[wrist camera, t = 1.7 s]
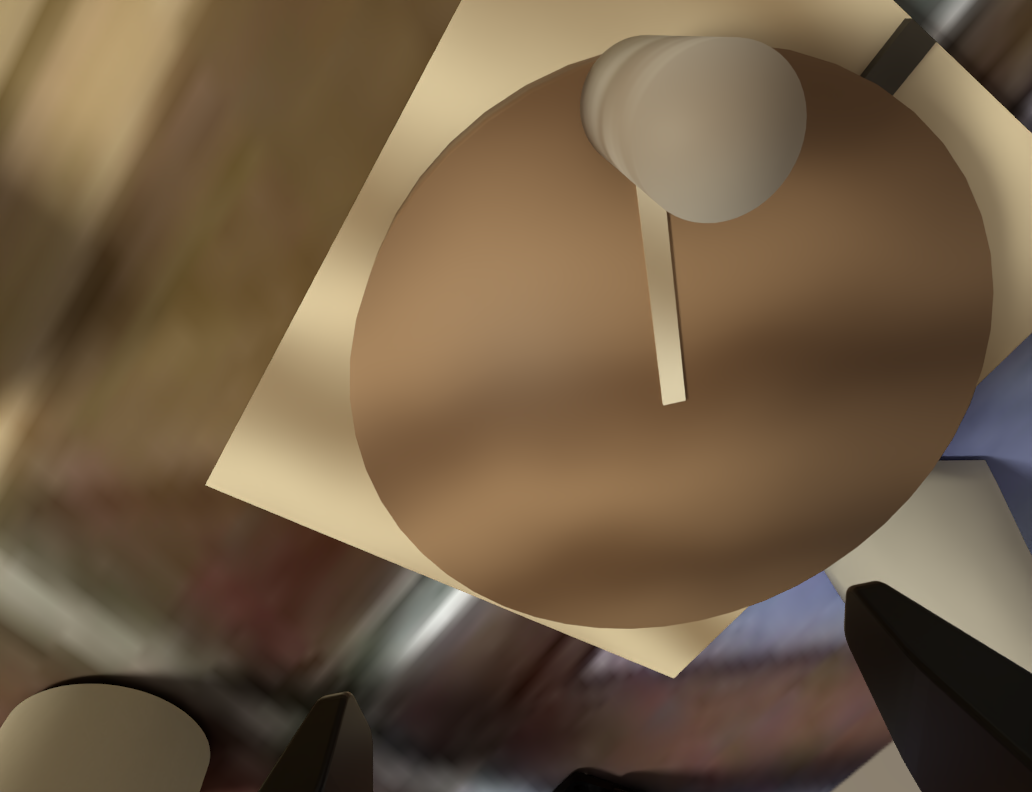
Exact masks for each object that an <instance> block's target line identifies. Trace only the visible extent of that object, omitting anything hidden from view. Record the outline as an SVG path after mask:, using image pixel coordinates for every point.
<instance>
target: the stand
mask: <svg viewBox="0 0 1032 792" xmlns="http://www.w3.org/2000/svg"><path fill="white" fill-rule="evenodd" d="M639 35H666V36H708V37H740V38H748V39H752V40H755V41H759V42H762V43H764V44H766V45H768V46H770V47H773V48H780V49H787V50H792V51H795V52H799V53H802V54H805V55H808V56H812V57H815V58H818V59H821V60H825V61H828V62H831V63H834V64H837V65H839V66H841V67H843V68H845V69H847V70H849V71H851V72H853V73H855V74H857V75H859V76H861V77H863V78H865V79H867V80H869V81H871V82H873V83H875V84H877V85H879V86H880V87H881V88H883V89H884V90H885V91H887V92H888V93H890V94H891V95H892V96H894V97H895V98H896V99H898V100H899V101H900V102H902V103H903V104H904V105H906V106H907V107H908V108H910V109H911V110H912V111H914V112H915V113H916V114H917V115H918V117H919V118H920V119H921V120H922V121H923V122H924V123H925V124H926V125H927V126H928V127H929V128H930V129H931V130H932V132H933V133H934V134H935V135H936V136H937V137H938V138H939V139H940V140H941V141H942V142H943V143H944V145H945V146H946V148H947V149H948V151H949V153H950V154H951V156H952V157H953V159H954V160H955V162H956V163H957V165H958V166H959V168H960V170H961V171H962V173H963V174H964V176H965V177H966V179H967V182H968V184H969V186H970V189H971V191H972V194H973V196H974V198H975V201H976V203H977V205H978V208H979V210H980V212H981V215H982V219H983V223H984V227H985V232H986V236H987V240H988V244H989V248H990V253H991V265H992V278H993V291H994V293H993V306H992V320H991V331H990V336H989V341H988V345H987V350H986V355H985V359H984V364H983V368H982V371H981V374H980V377H979V380H978V383H977V385H978V384H979V383H980V382H981V381H982V380H983V379H984V378H985V377H986V376H987V375H988V374H989V373H990V372H991V371H993V370H994V369H995V368H996V367H997V366H998V365H999V364H1000V363H1001V362H1002V361H1003V360H1004V359H1005V358H1006V357H1007V356H1008V355H1009V354H1010V353H1011V352H1012V351H1013V350H1014V349H1015V348H1016V347H1017V346H1018V345H1019V344H1020V343H1022V342H1023V341H1024V340H1025V339H1026V338H1027V337H1028V336H1029V335H1030V334H1031V333H1032V133H1031V132H1030V131H1029V130H1028V129H1027V128H1026V127H1025V126H1023V125H1022V124H1021V123H1020V122H1019V121H1018V120H1017V119H1016V118H1015V117H1014V116H1013V115H1012V114H1011V113H1010V112H1009V111H1008V110H1007V109H1006V108H1005V107H1004V106H1003V105H1002V104H1001V103H1000V102H999V101H997V100H996V99H995V98H994V97H993V96H992V95H991V94H990V93H989V92H988V91H987V90H986V89H985V88H984V87H983V86H982V85H981V84H980V83H979V82H978V81H977V80H976V79H975V78H974V77H972V76H971V75H970V74H969V73H968V72H967V71H966V70H965V69H964V68H963V67H962V66H961V65H960V64H959V63H958V62H957V61H956V60H955V59H954V58H953V57H952V56H951V55H950V54H949V53H948V52H946V51H945V50H944V49H943V48H942V47H941V46H940V45H939V44H938V43H937V42H936V41H935V40H934V39H933V38H932V37H931V36H930V35H929V34H928V33H927V32H926V31H925V30H924V29H923V28H922V27H921V26H920V25H919V24H918V23H917V22H916V21H915V20H913V19H912V18H911V17H910V16H909V15H908V14H907V13H906V12H905V11H904V10H903V9H902V8H901V7H900V6H899V5H898V4H897V3H895V2H894V1H893V0H462V1H461V3H460V4H459V6H458V8H457V10H456V12H455V14H454V16H453V18H452V20H451V21H450V23H449V25H448V27H447V29H446V31H445V33H444V35H443V37H442V38H441V40H440V42H439V44H438V46H437V48H436V50H435V52H434V54H433V55H432V57H431V59H430V61H429V63H428V65H427V67H426V69H425V71H424V72H423V74H422V76H421V78H420V80H419V82H418V84H417V86H416V88H415V89H414V91H413V93H412V95H411V97H410V99H409V101H408V103H407V105H406V107H405V108H404V110H403V112H402V114H401V116H400V118H399V120H398V122H397V124H396V125H395V127H394V129H393V131H392V133H391V135H390V137H389V139H388V141H387V142H386V144H385V146H384V148H383V150H382V152H381V154H380V156H379V158H378V159H377V161H376V163H375V165H374V167H373V169H372V171H371V173H370V175H369V176H368V178H367V180H366V182H365V184H364V186H363V188H362V190H361V192H360V193H359V195H358V197H357V199H356V201H355V203H354V205H353V207H352V209H351V210H350V212H349V214H348V216H347V218H346V220H345V222H344V224H343V226H342V227H341V229H340V231H339V233H338V235H337V237H336V239H335V241H334V243H333V245H332V246H331V248H330V250H329V252H328V254H327V256H326V258H325V260H324V262H323V263H322V265H321V267H320V269H319V271H318V273H317V275H316V277H315V279H314V280H313V282H312V284H311V286H310V288H309V290H308V292H307V294H306V296H305V297H304V299H303V301H302V303H301V305H300V307H299V309H298V311H297V313H296V314H295V316H294V318H293V320H292V322H291V324H290V326H289V328H288V330H287V331H286V333H285V335H284V337H283V339H282V341H281V343H280V345H279V347H278V348H277V350H276V352H275V354H274V356H273V358H272V360H271V362H270V364H269V365H268V367H267V369H266V371H265V373H264V375H263V377H262V379H261V381H260V383H259V384H258V386H257V388H256V390H255V392H254V394H253V396H252V398H251V400H250V401H249V403H248V405H247V407H246V409H245V411H244V413H243V415H242V417H241V418H240V420H239V422H238V424H237V426H236V428H235V430H234V432H233V434H232V435H231V437H230V439H229V441H228V443H227V445H226V447H225V449H224V451H223V452H222V454H221V456H220V458H219V460H218V462H217V464H216V466H215V468H214V469H213V471H212V473H211V475H210V477H209V479H208V481H207V483H206V486H209V487H211V488H214V489H216V490H219V491H221V492H223V493H226V494H228V495H231V496H233V497H235V498H238V499H240V500H243V501H245V502H248V503H250V504H252V505H255V506H257V507H260V508H262V509H265V510H267V511H269V512H272V513H274V514H277V515H279V516H282V517H284V518H286V519H289V520H291V521H294V522H296V523H298V524H301V525H303V526H306V527H308V528H311V529H313V530H315V531H318V532H320V533H323V534H325V535H328V536H330V537H332V538H335V539H337V540H340V541H342V542H345V543H347V544H349V545H352V546H354V547H357V548H359V549H361V550H364V551H366V552H369V553H371V554H374V555H376V556H378V557H381V558H383V559H386V560H388V561H391V562H393V563H395V564H398V565H400V566H403V567H405V568H408V569H410V570H412V571H415V572H417V573H420V574H422V575H424V576H427V577H429V578H432V579H434V580H437V581H439V582H441V583H444V584H446V585H449V586H451V587H454V588H456V589H458V590H461V591H463V592H466V593H468V594H471V595H473V596H475V597H478V598H480V599H483V600H485V601H487V602H490V603H492V604H495V605H497V606H500V607H502V608H504V609H507V610H509V611H512V612H514V613H517V614H519V615H521V616H524V617H526V618H529V619H531V620H534V621H536V622H538V623H541V624H543V625H546V626H548V627H550V628H553V629H555V630H558V631H560V632H563V633H565V634H567V635H570V636H572V637H575V638H577V639H580V640H582V641H584V642H587V643H589V644H592V645H594V646H597V647H599V648H601V649H604V650H606V651H609V652H611V653H613V654H616V655H618V656H621V657H623V658H626V659H628V660H630V661H633V662H635V663H638V664H640V665H643V666H645V667H647V668H650V669H652V670H655V671H657V672H660V673H662V674H664V675H667V676H669V677H672V678H675V677H676V676H677V675H678V674H679V673H680V672H681V671H682V670H683V669H684V668H685V667H686V666H687V665H688V664H689V663H690V662H691V661H692V660H693V659H694V658H695V657H696V656H697V655H698V654H699V653H700V652H702V651H703V650H704V649H705V648H706V647H707V646H708V645H709V644H710V643H711V642H712V641H713V640H714V639H715V638H716V637H717V636H718V635H719V634H720V633H721V632H722V631H723V630H724V629H725V628H726V627H727V626H728V625H729V624H731V623H732V622H733V621H734V620H735V619H736V618H737V617H738V616H739V615H740V614H741V613H742V612H743V611H744V610H745V609H746V608H747V607H745V608H742V609H740V610H737V611H734V612H731V613H727V614H723V615H720V616H716V617H712V618H708V619H704V620H700V621H695V622H689V623H683V624H677V625H671V626H665V627H652V628H638V629H613V628H593V627H585V626H577V625H569V624H563V623H559V622H554V621H550V620H546V619H541V618H537V617H533V616H530V615H527V614H525V613H522V612H519V611H516V610H513V609H510V608H507V607H504V606H502V605H500V604H498V603H496V602H494V601H492V600H490V599H488V598H486V597H483V596H481V595H479V594H477V593H475V592H473V591H472V590H470V589H469V588H467V587H466V586H464V585H463V584H461V583H459V582H458V581H456V580H455V579H453V578H452V577H450V576H449V575H447V574H446V573H445V572H443V571H442V570H441V569H440V568H439V567H438V566H436V565H435V564H434V563H433V562H432V561H430V560H429V559H428V558H427V557H426V556H424V555H423V554H422V553H421V552H420V551H419V550H418V548H417V547H416V546H415V545H414V544H413V543H412V542H411V541H410V540H409V538H408V537H407V536H406V535H405V534H404V533H403V532H402V531H401V530H400V528H399V527H398V525H397V524H396V522H395V521H394V520H393V518H392V517H391V515H390V514H389V512H388V511H387V509H386V508H385V506H384V505H383V503H382V502H381V500H380V498H379V496H378V494H377V492H376V490H375V488H374V485H373V483H372V481H371V479H370V477H369V475H368V473H367V471H366V468H365V465H364V462H363V459H362V455H361V452H360V449H359V446H358V442H357V439H356V436H355V429H354V423H353V416H352V409H351V403H350V356H351V349H352V343H353V336H354V330H355V323H356V318H357V314H358V311H359V308H360V305H361V301H362V298H363V295H364V292H365V288H366V285H367V282H368V279H369V275H370V273H371V270H372V267H373V264H374V261H375V258H376V256H377V253H378V251H379V248H380V246H381V244H382V242H383V240H384V238H385V236H386V234H387V231H388V229H389V227H390V225H391V223H392V221H393V219H394V217H395V214H396V213H397V211H398V210H399V208H400V207H401V205H402V204H403V202H404V201H405V199H406V197H407V196H408V194H409V193H410V191H411V190H412V188H413V187H414V185H415V184H416V182H417V181H418V179H419V178H420V176H421V175H422V174H423V173H424V172H425V171H426V169H427V168H428V167H429V166H430V165H431V164H432V163H433V161H434V160H435V159H436V158H437V157H438V156H439V155H440V153H441V152H442V151H443V150H444V149H445V148H446V146H447V145H448V144H449V143H450V142H451V141H452V140H453V139H455V138H456V137H457V136H458V135H459V134H460V133H461V132H463V131H464V130H465V129H466V128H467V127H468V126H469V125H471V124H472V123H473V122H474V121H475V120H476V119H477V118H479V117H480V116H481V115H482V114H483V113H484V112H486V111H487V110H489V109H490V108H492V107H493V106H495V105H496V104H498V103H499V102H501V101H502V100H504V99H505V98H507V97H508V96H510V95H511V94H513V93H514V92H516V91H517V90H519V89H521V88H522V87H524V86H525V85H527V84H529V83H531V82H534V81H536V80H538V79H540V78H542V77H544V76H546V75H548V74H550V73H552V72H554V71H556V70H559V69H561V68H563V67H565V66H567V65H569V64H572V63H576V62H579V61H582V60H585V59H588V58H591V57H595V56H598V55H601V54H603V53H604V52H605V51H606V50H607V49H608V48H610V47H611V46H613V45H614V44H616V43H618V42H620V41H622V40H624V39H627V38H630V37H633V36H639ZM977 385H976V386H977Z"/></svg>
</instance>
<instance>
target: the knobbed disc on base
mask: <svg viewBox="0 0 1032 792" xmlns="http://www.w3.org/2000/svg"><path fill="white" fill-rule="evenodd" d="M993 293H994V291H993V278H992V265H991V253H990V248H989V244H988V240H987V236H986V232H985V227H984V223H983V219H982V215H981V212H980V210H979V208H978V205H977V203H976V201H975V198H974V196H973V194H972V191H971V189H970V186H969V184H968V182H967V179H966V177H965V176H964V174H963V173H962V171H961V170H960V168H959V166H958V165H957V163H956V162H955V160H954V159H953V157H952V156H951V154H950V153H949V151H948V149H947V148H946V146H945V145H944V143H943V142H942V141H941V140H940V139H939V138H938V137H937V136H936V135H935V134H934V133H933V132H932V130H931V129H930V128H929V127H928V126H927V125H926V124H925V123H924V122H923V121H922V120H921V119H920V118H919V117H918V115H917V114H916V113H915V112H914V111H912V110H911V109H910V108H908V107H907V106H906V105H904V104H903V103H902V102H900V101H899V100H898V99H896V98H895V97H894V96H892V95H891V94H890V93H888V92H887V91H885V90H884V89H883V88H881V87H880V86H879V85H877V84H875V83H873V82H871V81H869V80H867V79H865V78H863V77H861V76H859V75H857V74H855V73H853V72H851V71H849V70H847V69H845V68H843V67H841V66H839V65H837V64H834V63H831V62H828V61H825V60H821V59H818V58H815V57H812V56H808V55H805V54H802V53H799V52H795V51H792V50H787V49H780V48H773V47H770V46H768V45H766V44H764V43H762V42H759V41H755V40H752V39H748V38H740V37H708V36H666V35H639V36H633V37H630V38H627V39H624V40H622V41H620V42H618V43H616V44H614V45H613V46H611V47H610V48H608V49H607V50H606V51H605V52H604V53H603V54H601V55H598V56H595V57H591V58H588V59H585V60H582V61H579V62H576V63H572V64H569V65H567V66H565V67H563V68H561V69H559V70H556V71H554V72H552V73H550V74H548V75H546V76H544V77H542V78H540V79H538V80H536V81H534V82H531V83H529V84H527V85H525V86H524V87H522V88H521V89H519V90H517V91H516V92H514V93H513V94H511V95H510V96H508V97H507V98H505V99H504V100H502V101H501V102H499V103H498V104H496V105H495V106H493V107H492V108H490V109H489V110H487V111H486V112H484V113H483V114H482V115H481V116H480V117H479V118H477V119H476V120H475V121H474V122H473V123H472V124H471V125H469V126H468V127H467V128H466V129H465V130H464V131H463V132H461V133H460V134H459V135H458V136H457V137H456V138H455V139H453V140H452V141H451V142H450V143H449V144H448V145H447V146H446V148H445V149H444V150H443V151H442V152H441V153H440V155H439V156H438V157H437V158H436V159H435V160H434V161H433V163H432V164H431V165H430V166H429V167H428V168H427V169H426V171H425V172H424V173H423V174H422V175H421V176H420V178H419V179H418V181H417V182H416V184H415V185H414V187H413V188H412V190H411V191H410V193H409V194H408V196H407V197H406V199H405V201H404V202H403V204H402V205H401V207H400V208H399V210H398V211H397V213H396V214H395V217H394V219H393V221H392V223H391V225H390V227H389V229H388V231H387V234H386V236H385V238H384V240H383V242H382V244H381V246H380V248H379V251H378V253H377V256H376V258H375V261H374V264H373V267H372V270H371V273H370V275H369V279H368V282H367V285H366V288H365V292H364V295H363V298H362V301H361V305H360V308H359V311H358V314H357V318H356V323H355V330H354V336H353V343H352V349H351V356H350V403H351V409H352V416H353V423H354V429H355V436H356V439H357V442H358V446H359V449H360V452H361V455H362V459H363V462H364V465H365V468H366V471H367V473H368V475H369V477H370V479H371V481H372V483H373V485H374V488H375V490H376V492H377V494H378V496H379V498H380V500H381V502H382V503H383V505H384V506H385V508H386V509H387V511H388V512H389V514H390V515H391V517H392V518H393V520H394V521H395V522H396V524H397V525H398V527H399V528H400V530H401V531H402V532H403V533H404V534H405V535H406V536H407V537H408V538H409V540H410V541H411V542H412V543H413V544H414V545H415V546H416V547H417V548H418V550H419V551H420V552H421V553H422V554H423V555H424V556H426V557H427V558H428V559H429V560H430V561H432V562H433V563H434V564H435V565H436V566H438V567H439V568H440V569H441V570H442V571H443V572H445V573H446V574H447V575H449V576H450V577H452V578H453V579H455V580H456V581H458V582H459V583H461V584H463V585H464V586H466V587H467V588H469V589H470V590H472V591H473V592H475V593H477V594H479V595H481V596H483V597H486V598H488V599H490V600H492V601H494V602H496V603H498V604H500V605H502V606H504V607H507V608H510V609H513V610H516V611H519V612H522V613H525V614H527V615H530V616H533V617H537V618H541V619H546V620H550V621H554V622H559V623H563V624H569V625H577V626H585V627H593V628H613V629H638V628H652V627H665V626H671V625H677V624H683V623H689V622H695V621H700V620H704V619H708V618H712V617H716V616H720V615H723V614H727V613H731V612H734V611H737V610H740V609H742V608H745V607H748V606H751V605H754V604H756V603H759V602H762V601H765V600H767V599H769V598H771V597H773V596H776V595H778V594H780V593H782V592H784V591H786V590H789V589H791V588H793V587H795V586H797V585H799V584H801V583H802V582H804V581H806V580H808V579H809V578H811V577H813V576H815V575H816V574H818V573H820V572H822V571H823V570H825V569H827V568H828V567H830V566H831V565H833V564H834V563H835V562H837V561H838V560H840V559H841V558H843V557H844V556H845V555H847V554H848V553H850V552H851V551H853V550H854V549H855V548H857V547H858V546H859V545H860V544H862V543H863V542H864V541H865V540H866V539H867V538H869V537H870V536H871V535H872V534H873V533H875V532H876V531H877V530H878V529H879V528H880V527H882V526H883V525H884V524H885V523H886V522H887V521H888V520H889V519H890V518H891V517H892V516H893V515H894V514H895V513H896V512H897V511H898V510H899V509H900V508H901V507H902V506H903V505H904V504H905V503H906V502H907V501H908V500H909V498H910V497H911V496H912V495H913V494H914V492H915V491H916V490H917V489H918V487H919V486H920V485H921V484H922V482H923V481H924V480H925V479H926V477H927V476H928V475H929V474H930V472H931V471H932V470H933V468H934V467H935V465H936V464H937V462H938V461H939V459H940V458H941V456H942V454H943V453H944V451H945V450H946V448H947V447H948V445H949V443H950V442H951V440H952V439H953V437H954V435H955V433H956V431H957V429H958V427H959V425H960V423H961V421H962V419H963V417H964V415H965V413H966V411H967V409H968V407H969V405H970V402H971V400H972V397H973V394H974V391H975V388H976V385H977V383H978V380H979V377H980V374H981V371H982V368H983V364H984V359H985V355H986V350H987V345H988V341H989V336H990V331H991V320H992V306H993Z"/></svg>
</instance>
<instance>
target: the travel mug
mask: <svg viewBox="0 0 1032 792" xmlns="http://www.w3.org/2000/svg"><path fill="white" fill-rule="evenodd" d="M209 761H210V747H209V743H208V740H207V738H206V736H205V734H204V732H203V731H202V729H201V728H200V727H199V725H198V724H197V723H196V722H195V721H194V720H193V719H192V718H191V717H190V716H189V715H187V714H186V713H185V712H184V711H182V710H181V709H179V708H178V707H176V706H175V705H173V704H171V703H169V702H167V701H165V700H163V699H161V698H159V697H157V696H154V695H152V694H149V693H146V692H143V691H139V690H136V689H132V688H127V687H122V686H116V685H108V684H74V685H66V686H60V687H56V688H52V689H48V690H45V691H42V692H40V693H37V694H35V695H33V696H31V697H29V698H28V699H26V700H24V701H23V702H22V703H20V704H19V705H18V706H17V707H16V708H15V709H14V710H13V711H12V712H11V713H10V715H9V716H8V718H7V719H6V721H5V722H4V724H3V725H2V727H1V728H0V792H200V789H201V786H202V783H203V780H204V777H205V774H206V771H207V768H208V765H209Z"/></svg>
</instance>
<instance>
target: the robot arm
mask: <svg viewBox="0 0 1032 792" xmlns="http://www.w3.org/2000/svg"><path fill="white" fill-rule="evenodd" d="M844 631H845V637H846V640H847V643H848V646H849V648H850V650H851V652H852V654H853V657H854V659H855V661H856V663H857V665H858V667H859V669H860V671H861V673H862V675H863V678H864V680H865V682H866V684H867V686H868V688H869V690H870V692H871V694H872V696H873V699H874V701H875V703H876V705H877V707H878V709H879V711H880V713H881V715H882V718H883V720H884V722H885V724H886V726H887V728H888V730H889V732H890V734H891V736H892V739H893V741H894V743H895V745H896V747H897V748H898V751H899V752H900V755H901V757H902V759H903V760H904V762H905V763H906V766H907V768H908V769H909V771H910V773H911V775H912V776H913V778H914V780H915V781H916V783H917V785H918V787H919V788H920V790H921V791H922V792H1032V673H1031V672H1029V671H1027V670H1026V669H1024V668H1023V667H1021V666H1019V665H1018V664H1016V663H1014V662H1013V661H1011V660H1010V659H1008V658H1006V657H1005V656H1003V655H1001V654H1000V653H998V652H996V651H995V650H993V649H992V648H990V647H988V646H987V645H985V644H983V643H982V642H980V641H979V640H977V639H975V638H974V637H972V636H970V635H969V634H967V633H965V632H964V631H962V630H961V629H959V628H957V627H956V626H954V625H952V624H951V623H949V622H948V621H946V620H944V619H943V618H941V617H939V616H938V615H936V614H934V613H933V612H931V611H930V610H928V609H926V608H925V607H923V606H921V605H920V604H918V603H917V602H915V601H913V600H912V599H910V598H908V597H907V596H905V595H903V594H902V593H900V592H899V591H897V590H895V589H894V588H892V587H890V586H889V585H887V584H885V583H883V582H880V581H871V582H866V583H861V584H856V585H852V586H850V587H849V588H848V589H847V591H846V598H845V619H844ZM258 792H373V741H372V734H371V730H370V727H369V725H368V723H367V721H366V719H365V717H364V715H363V713H362V711H361V709H360V707H359V705H358V703H357V701H356V699H355V697H354V696H353V695H352V694H351V693H350V692H340V693H335V694H331V695H326V696H323V697H321V698H320V699H319V700H318V701H317V702H316V703H315V704H314V706H313V707H312V709H311V711H310V712H309V714H308V715H307V717H306V718H305V720H304V721H303V723H302V724H301V726H300V728H299V729H298V731H297V732H296V734H295V735H294V737H293V738H292V740H291V741H290V743H289V744H288V746H287V748H286V749H285V751H284V752H283V754H282V755H281V757H280V758H279V760H278V761H277V763H276V765H275V766H274V768H273V769H272V771H271V772H270V774H269V775H268V777H267V778H266V780H265V782H264V783H263V785H262V786H261V788H260V789H259V791H258ZM554 792H637V791H634V790H631V789H628V788H625V787H622V786H619V785H616V784H613V783H611V782H608V781H605V780H602V779H599V778H596V777H593V776H590V775H587V774H584V773H575V774H572V775H571V776H569V777H568V778H567V779H566V780H565V781H564V782H563V783H562V784H561V785H560V786H559V787H558V788H557V789H556V790H555V791H554Z"/></svg>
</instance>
